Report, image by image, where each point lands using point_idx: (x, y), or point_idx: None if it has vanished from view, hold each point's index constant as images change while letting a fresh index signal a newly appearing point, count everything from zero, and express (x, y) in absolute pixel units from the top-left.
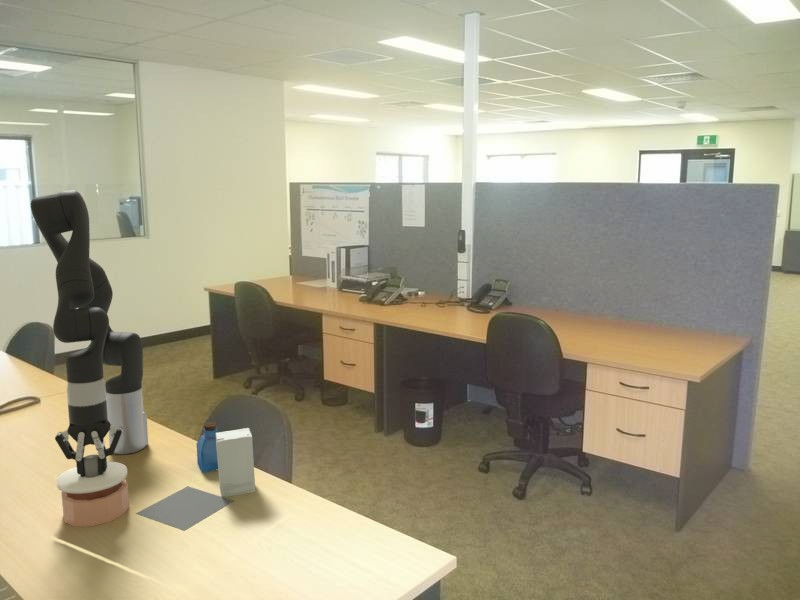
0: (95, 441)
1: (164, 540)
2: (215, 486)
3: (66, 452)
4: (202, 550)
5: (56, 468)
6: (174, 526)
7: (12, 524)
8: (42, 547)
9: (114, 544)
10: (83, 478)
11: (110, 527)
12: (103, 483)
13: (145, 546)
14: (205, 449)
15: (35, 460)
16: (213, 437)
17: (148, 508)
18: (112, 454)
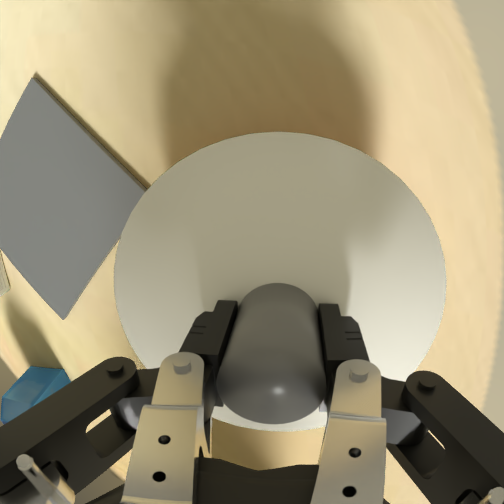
0: (176, 475)
1: (72, 45)
2: (21, 303)
3: (454, 408)
4: (17, 15)
5: (388, 474)
6: (48, 98)
7: (493, 249)
8: (405, 72)
9: (190, 31)
10: (320, 284)
11: (218, 135)
12: (192, 180)
13: (111, 18)
14: (25, 407)
15: (416, 491)
16: None
17: (120, 219)
18: (112, 358)
